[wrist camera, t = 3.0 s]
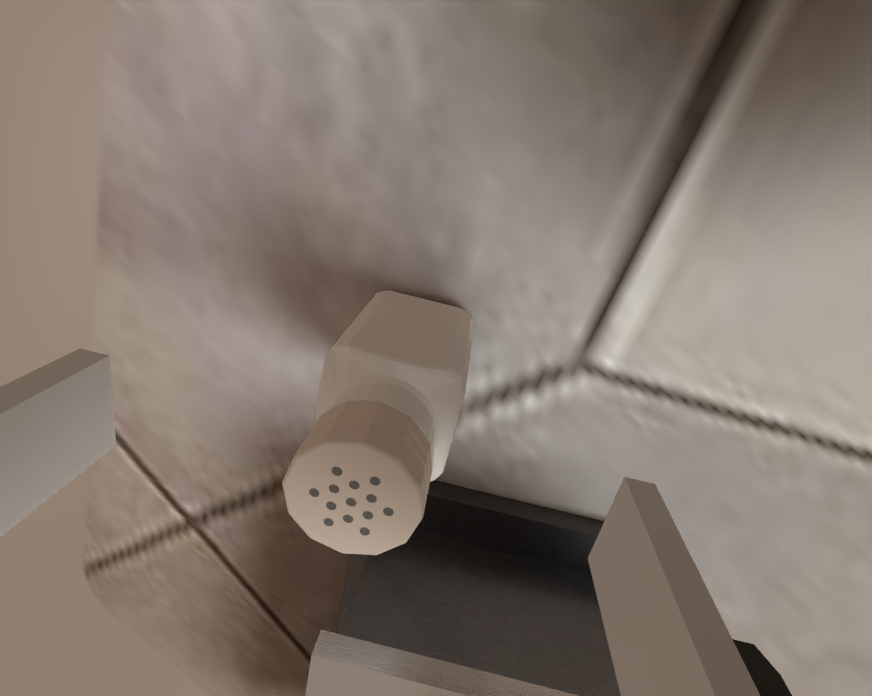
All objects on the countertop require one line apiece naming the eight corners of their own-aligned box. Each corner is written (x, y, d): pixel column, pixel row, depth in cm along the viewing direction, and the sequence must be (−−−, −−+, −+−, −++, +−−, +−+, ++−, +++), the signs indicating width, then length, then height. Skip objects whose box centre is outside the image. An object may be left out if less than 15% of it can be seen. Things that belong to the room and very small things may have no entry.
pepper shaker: (361, 372, 20) (257, 545, 11) (377, 282, 18) (270, 402, 10) (454, 395, 20) (421, 588, 11) (478, 307, 18) (461, 451, 10)
